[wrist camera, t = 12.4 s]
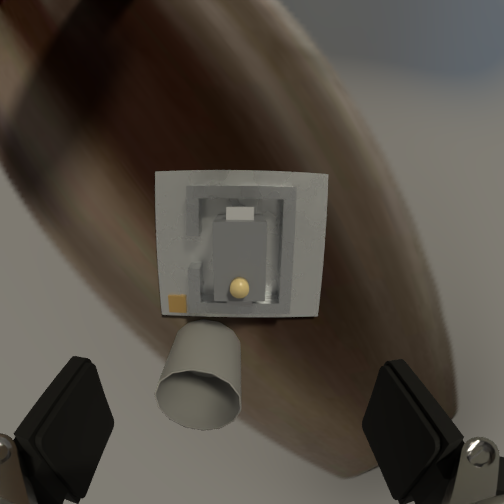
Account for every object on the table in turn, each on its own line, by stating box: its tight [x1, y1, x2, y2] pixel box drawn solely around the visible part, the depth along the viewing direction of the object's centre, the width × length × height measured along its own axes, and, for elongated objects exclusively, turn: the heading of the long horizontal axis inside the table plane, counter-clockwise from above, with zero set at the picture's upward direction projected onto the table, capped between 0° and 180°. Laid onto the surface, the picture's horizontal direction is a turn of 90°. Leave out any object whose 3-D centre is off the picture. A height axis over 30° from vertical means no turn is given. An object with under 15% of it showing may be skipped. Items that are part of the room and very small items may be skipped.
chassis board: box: [155, 170, 328, 317], centre depth 30 cm, size 16×18×3 cm
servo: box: [212, 207, 267, 306], centre depth 27 cm, size 9×4×7 cm, turn 179°
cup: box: [155, 319, 241, 430], centre depth 29 cm, size 8×8×10 cm
